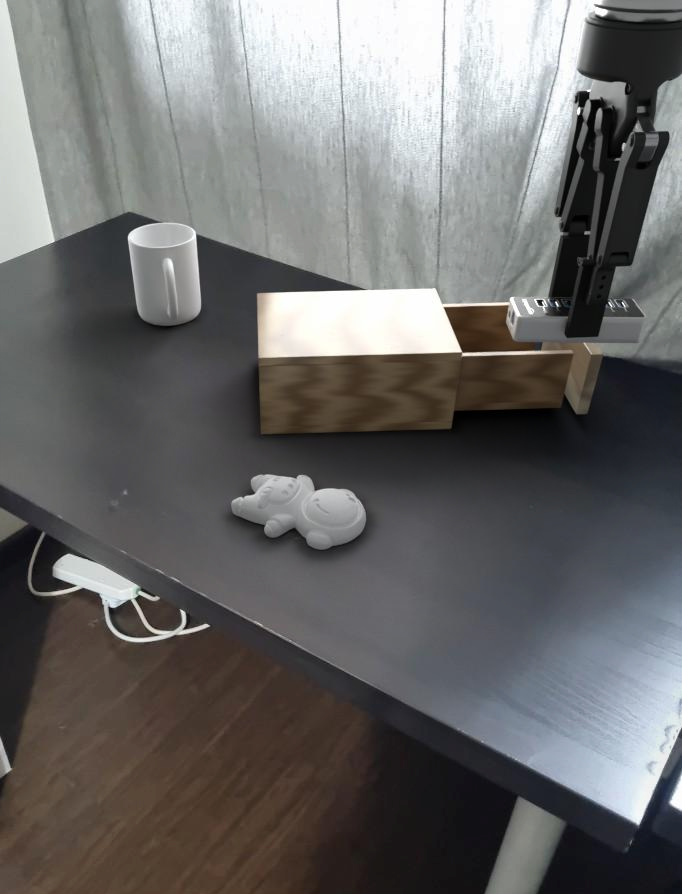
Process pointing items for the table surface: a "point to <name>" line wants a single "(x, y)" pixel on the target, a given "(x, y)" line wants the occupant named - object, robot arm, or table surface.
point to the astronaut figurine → (302, 510)
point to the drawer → (517, 364)
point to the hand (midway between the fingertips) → (571, 320)
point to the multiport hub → (550, 317)
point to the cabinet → (356, 361)
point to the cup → (165, 273)
